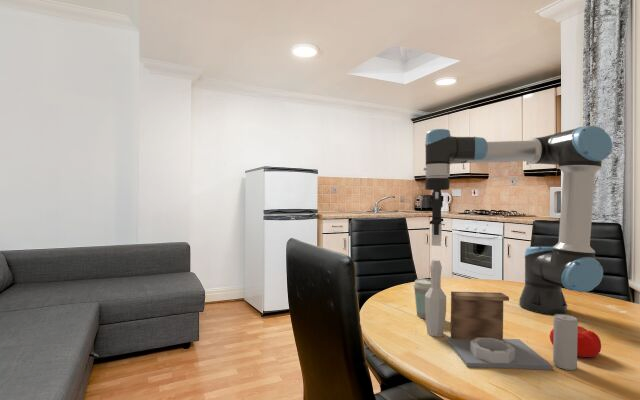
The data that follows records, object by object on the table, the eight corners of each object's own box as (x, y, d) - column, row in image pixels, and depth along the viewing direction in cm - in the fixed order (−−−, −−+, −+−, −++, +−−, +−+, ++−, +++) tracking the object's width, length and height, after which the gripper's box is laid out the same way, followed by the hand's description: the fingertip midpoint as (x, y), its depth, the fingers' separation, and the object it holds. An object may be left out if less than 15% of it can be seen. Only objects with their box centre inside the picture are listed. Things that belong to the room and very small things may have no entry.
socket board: (519, 342, 101) (519, 330, 101) (552, 369, 85) (552, 355, 85) (446, 340, 102) (447, 328, 102) (466, 366, 86) (467, 352, 86)
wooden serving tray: (500, 342, 101) (501, 292, 101) (508, 348, 97) (509, 297, 97) (450, 340, 102) (451, 291, 102) (455, 347, 98) (456, 295, 98)
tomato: (585, 364, 88) (586, 337, 88) (542, 347, 99) (542, 323, 98) (609, 357, 92) (609, 332, 92) (565, 341, 102) (565, 318, 102)
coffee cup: (440, 321, 118) (440, 285, 118) (413, 319, 120) (414, 283, 120) (437, 313, 127) (437, 279, 126) (412, 311, 128) (412, 278, 128)
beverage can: (548, 362, 89) (548, 314, 89) (566, 361, 90) (567, 313, 89) (563, 371, 84) (563, 320, 84) (582, 371, 85) (582, 320, 85)
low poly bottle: (421, 329, 111) (422, 258, 110) (442, 330, 110) (443, 258, 110) (427, 337, 104) (428, 262, 104) (449, 338, 104) (450, 262, 104)
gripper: (427, 179, 130) (426, 238, 130) (423, 175, 106) (422, 247, 106) (449, 179, 127) (448, 239, 127) (450, 175, 104) (449, 248, 104)
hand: (436, 243), depth 117 cm, fingers open, 13 cm apart
